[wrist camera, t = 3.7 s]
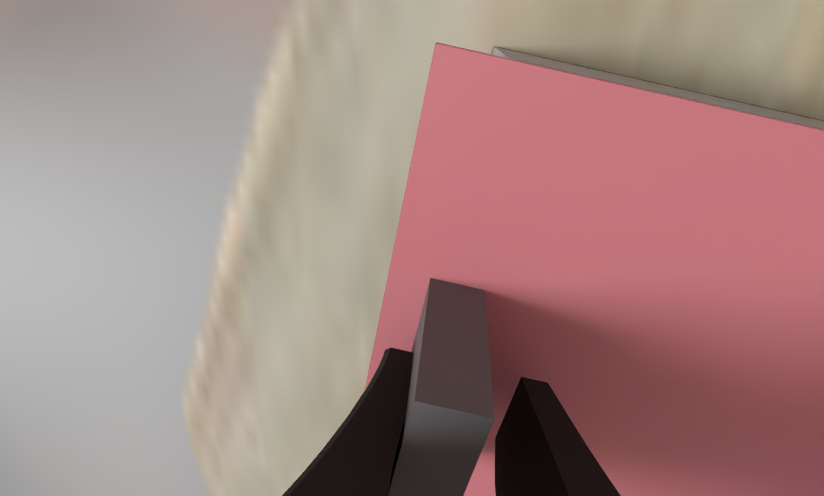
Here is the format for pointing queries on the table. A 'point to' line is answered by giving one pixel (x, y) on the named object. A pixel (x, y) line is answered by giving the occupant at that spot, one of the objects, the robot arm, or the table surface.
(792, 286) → the lid
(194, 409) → the table surface
